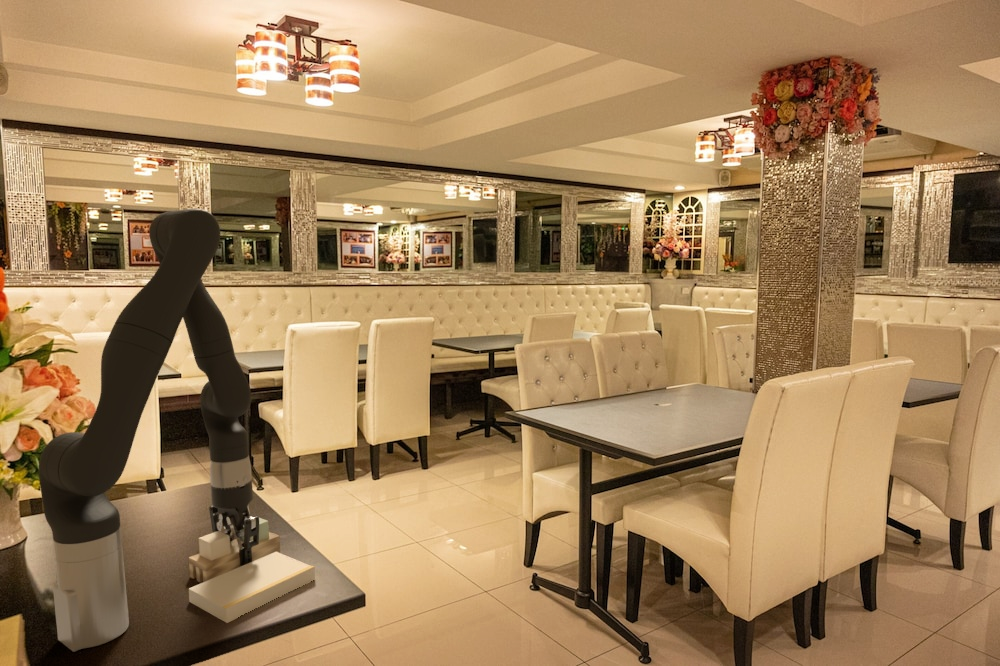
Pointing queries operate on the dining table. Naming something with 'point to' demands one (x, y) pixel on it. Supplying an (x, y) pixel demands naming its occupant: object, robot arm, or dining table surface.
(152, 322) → the robot arm
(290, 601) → the dining table surface
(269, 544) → the pallet
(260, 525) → the block
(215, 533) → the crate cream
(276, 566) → the dock
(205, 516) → the dining table surface
